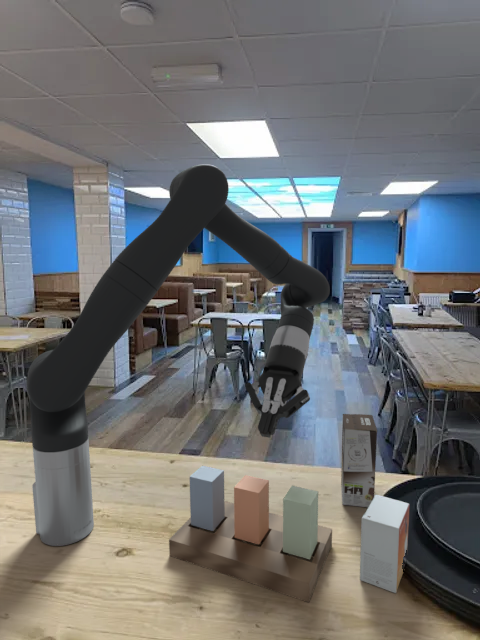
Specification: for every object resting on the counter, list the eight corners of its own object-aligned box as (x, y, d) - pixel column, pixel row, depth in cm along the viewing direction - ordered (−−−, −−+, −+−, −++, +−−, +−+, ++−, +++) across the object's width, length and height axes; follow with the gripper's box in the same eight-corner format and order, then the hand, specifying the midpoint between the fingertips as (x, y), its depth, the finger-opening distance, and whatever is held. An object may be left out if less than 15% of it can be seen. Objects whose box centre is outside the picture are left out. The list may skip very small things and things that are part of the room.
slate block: (190, 524, 76) (189, 476, 75) (203, 511, 80) (202, 465, 79) (212, 531, 75) (212, 481, 73) (224, 517, 79) (223, 470, 77)
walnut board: (169, 555, 73) (169, 539, 73) (210, 511, 86) (209, 497, 85) (308, 602, 63) (309, 583, 63) (331, 544, 76) (332, 528, 75)
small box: (396, 595, 64) (399, 529, 63) (358, 580, 67) (360, 517, 66) (407, 563, 71) (410, 502, 70) (373, 551, 74) (375, 493, 72)
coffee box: (375, 508, 86) (378, 430, 84) (341, 505, 88) (343, 428, 85) (370, 485, 95) (373, 414, 93) (340, 482, 96) (342, 412, 94)
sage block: (282, 551, 69) (283, 498, 68) (291, 535, 73) (292, 485, 72) (309, 559, 68) (310, 505, 66) (317, 542, 71) (318, 491, 70)
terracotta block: (234, 537, 73) (234, 487, 72) (245, 523, 77) (245, 475, 76) (258, 544, 71) (258, 493, 70) (268, 529, 75) (268, 480, 74)
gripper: (251, 340, 87) (224, 420, 78) (317, 346, 81) (296, 432, 72) (261, 361, 92) (237, 437, 83) (323, 367, 87) (304, 450, 78)
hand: (264, 435), depth 78 cm, fingers closed
